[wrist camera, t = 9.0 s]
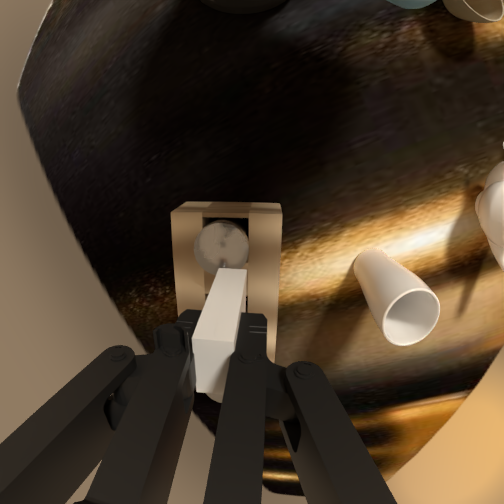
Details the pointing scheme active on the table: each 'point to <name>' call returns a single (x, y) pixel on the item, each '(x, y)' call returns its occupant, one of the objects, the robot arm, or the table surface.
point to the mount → (257, 265)
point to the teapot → (493, 211)
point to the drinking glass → (396, 298)
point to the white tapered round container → (476, 10)
